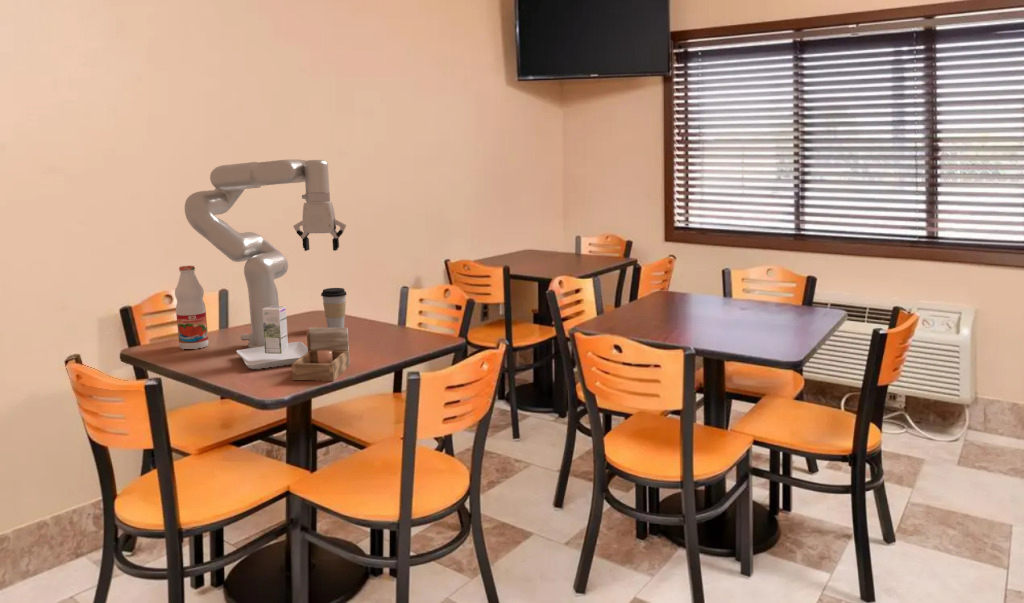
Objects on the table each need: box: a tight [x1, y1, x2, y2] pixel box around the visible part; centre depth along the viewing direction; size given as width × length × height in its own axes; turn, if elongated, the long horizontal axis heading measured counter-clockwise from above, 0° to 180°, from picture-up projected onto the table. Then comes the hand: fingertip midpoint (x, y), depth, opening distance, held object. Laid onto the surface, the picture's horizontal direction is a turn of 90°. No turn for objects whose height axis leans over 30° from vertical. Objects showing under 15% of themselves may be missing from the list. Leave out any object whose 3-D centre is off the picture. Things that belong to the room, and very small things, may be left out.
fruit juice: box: [174, 265, 210, 350], centre depth 264 cm, size 9×9×28 cm
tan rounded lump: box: [317, 349, 333, 364], centre depth 235 cm, size 4×4×6 cm
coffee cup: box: [320, 287, 347, 328], centre depth 291 cm, size 9×9×15 cm
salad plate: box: [235, 341, 308, 370], centre depth 248 cm, size 21×21×3 cm
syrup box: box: [262, 305, 289, 354], centre depth 246 cm, size 6×6×14 cm
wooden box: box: [291, 327, 351, 382], centre depth 231 cm, size 17×12×12 cm
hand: (321, 250), depth 256 cm, fingers open, 9 cm apart
